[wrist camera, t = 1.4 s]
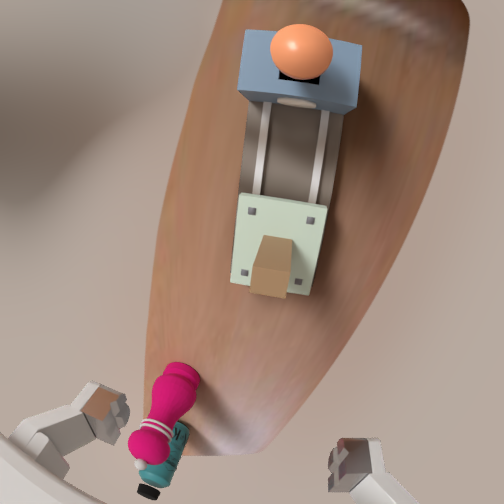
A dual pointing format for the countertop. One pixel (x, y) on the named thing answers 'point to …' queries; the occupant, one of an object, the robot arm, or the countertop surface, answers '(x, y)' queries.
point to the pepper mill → (164, 414)
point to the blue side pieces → (298, 93)
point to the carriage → (276, 244)
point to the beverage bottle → (164, 465)
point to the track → (290, 154)
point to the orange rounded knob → (301, 51)
